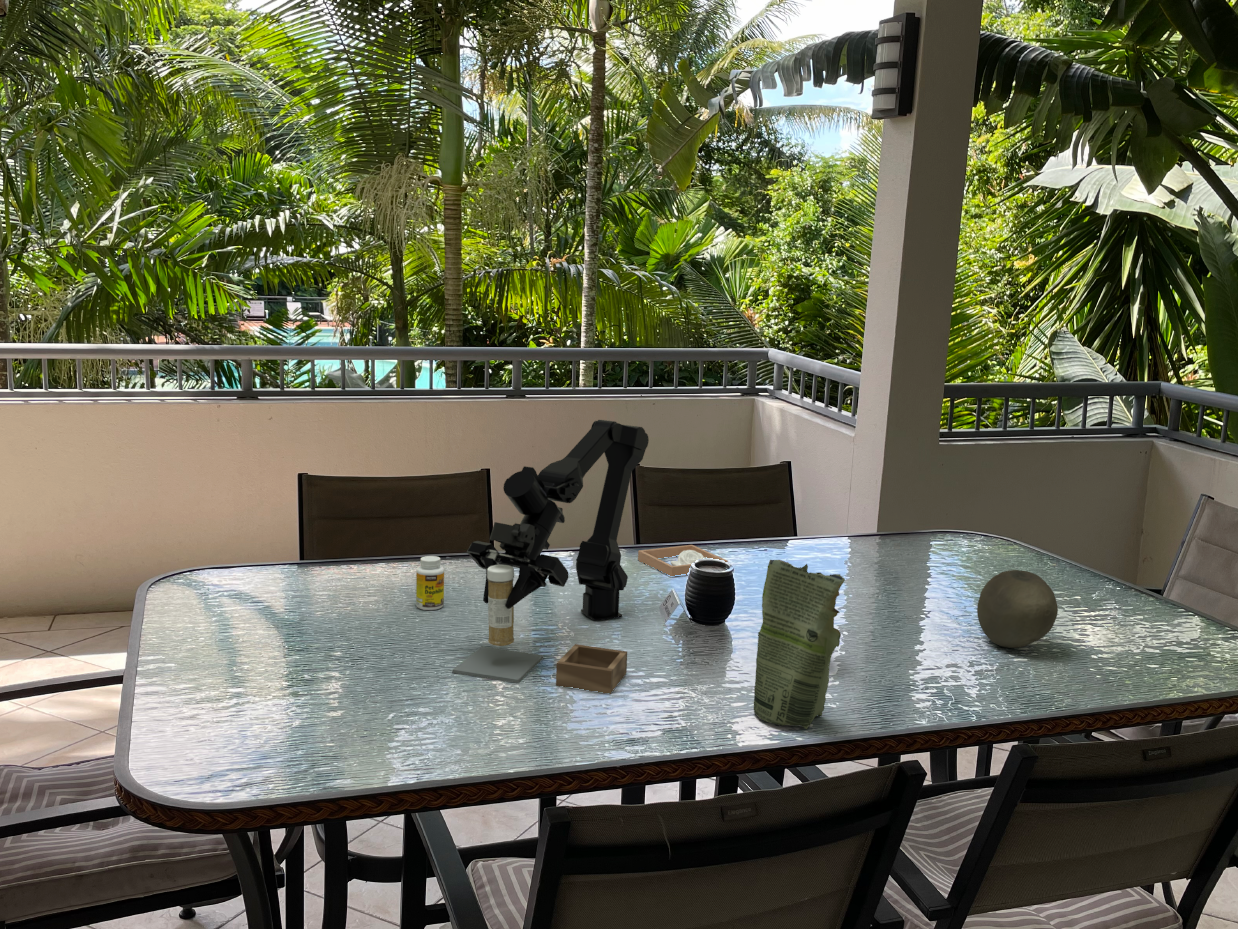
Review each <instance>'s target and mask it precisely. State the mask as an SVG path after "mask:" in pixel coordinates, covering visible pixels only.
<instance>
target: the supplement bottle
mask: <svg viewBox="0 0 1238 929" xmlns="http://www.w3.org/2000/svg"><path fill="white" fill-rule="evenodd" d="M441 564H442V563H441V557H439V556H437V555H426V556H423V557H420V563H419V566H418V567H417V568H416V575H415V576H416V578H415V579H416V580H415V582H416V586H415V588H416V589H415V591H416V592H415V594H416V595H415V596H416V597H415V598H416V601H415V605H416V607H417V608H418V609H420V610H422V611H423V610H424V611H435V610H440V609H441V608H443V607H444V602H445V595H444V594H445V568H444V567H443V566H441Z"/></svg>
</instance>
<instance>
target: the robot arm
mask: <svg viewBox="0 0 1238 929" xmlns="http://www.w3.org/2000/svg"><path fill="white" fill-rule="evenodd" d="M649 440H650V439H649V435H648V434H647V433H646V430H645V428H643V426H637V425H628V424H621V423H619V422H617V421H615V420H605V419H597V420H594V421H593V423H592V424H591V427H590V429H589V430H588V432H586V433H585V435H584V436H583V437H582V438H581V439H580V440H579V441H578V442H577V444H576V445H575V446H574V447H573V448H572V449H571V450H570V451H569V452H568V454H566V456H564V457H563V458H561V459H560V460H557V461H554V462H551V463H550V464H548V465H547V466H545V467H544V468H543V469H541V470H540V472H539V473H537V471H536V470H535V468H534V467H533V466H525V465H524V466H523V467H522V469H521V470H519V471H517V472H515V473H512V475H510V476H509V477H507V478H506V479H505V481H504V483H503V493H504V494H505V495H506V497H507V498H508V499H509V501H510V502H511V503H512V505H513V506H514V507H515V509H516V510H517V511H518V512H519V513H520V514H521V515H523V517H522V519H521V520H520V523H516V522H515V523H514V524H506V523H501V522H496V521H495V522H494V523H493V527H492V530H491V533H490V536H489V541H492V542H494V541H495V542H497V543H499V547H500V549H502V550H504V553H503V552H499V551H498V550H497V549H496V547H495V546H494V544H492V543H489V542H484V541H480V540H476V541H475V540H474V541H472V542H471V543H470V545H469V547H468V549H467V551H466V553H467V554H468V555H469V557H470V558H471V559H472V560H473V561H474V562H475V564H477V566H478V567H479V568H481V569H483V570H485V574H486V575H485V584H484V590H483V592H484V593H483V600H482V601H483V602H484V603H485V604H488V595H489V590H488V587H489V586H488V578H487V569H488V568H489V567H490V566H493V565H509V566H512V567H513V568H517V569H519V570H518V578H517V580H516V582H515V584H513V589H512V591H511V593H510V595H509V597H508V599H507V602H506V604H505V607H506V608H507V609H510V608H511V607H513V606H516V605H517V604H518V603H519V602H520V601H522V600H524V599H525V598H526V597H527V596H529V595H530V594H532V593H534V592H535V591H537V590H538V589H540V588H541V587H543V588H544V587H546V586H547V583H546V580H547V579H548V582H549V583H550V585H554V586H558V587H565V586H566V583H567V582H568V580H569V571H568V569H567V568H566V566H565V565H564V564H563V562H562V561H561V560H560V558H559V557H557V556H553V555H549V554H543V553H542V552H543V550H549V548H550V546H551V544H550V543H549V542H548V540H549V538H550V536H551V534H552V532H553V530H554V529H555V527H556V524H557V523H561V524H565V521H566V520H565V515H564V512H563V508H562V507H559V506H558V505H557V503H555V502H559V503H564V504H572V503H573V502H574V501H575V500H576V499H577V497H578V495H579V494H580V493H581V491H582V489H583V487H584V477H585V476H586V474H587V473H588V472H589V471H590V470H591V468H592V467H593V466H594V465H595V463H597V461H599V459H600V458H601V457H602V456H603V454H604V455H605V458H606V462H607V469H606V474H605V477H604V478H605V479H604V482H603V488H602V490H601V491H602V492H601V497H600V501H599V504H598V505H599V506H598V509H597V513H596V518H595V523H594V526H593V532H592V535H590V537H589V538H588V539H587V540H582V541H581V542H580V544H579V549H578V554H577V557H576V559H575V561H576V563H575V570H576V575H577V580H578V584H579V586H580V585H581V586H582V585H584V587H585V588H584V592H583V593H582V609H580V613H582V614H583V615H584V616H586V617H587V618H589V619H591V620H593V621H594V622H596V621H597V622H598V621H604V620H605V621H606V620H611V619H618V618H619V619H620V618H623V614H622V613H620V591H624V590H625V588H626V587H627V584H628V579H629V578H628V577H629V576H628V575H627V573H626V571H625V570H624V569H623V566H622V565H621V561H622V553H621V549H620V546H619V545H618V535H619V530H620V528H621V527H620V526H621V522H622V517H623V513H624V508H625V503H626V498H627V495H628V491H629V486H630V481H631V478H632V472H633V470H634V469H635V468H636V467H637V466H638V465H639V464H640V463H641V462H642V461H643V459H644V456H645V453H646V450H647V448H648V445H649Z"/></svg>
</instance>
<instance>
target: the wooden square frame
mask: <svg viewBox="0 0 1238 929" xmlns="http://www.w3.org/2000/svg"><path fill="white" fill-rule="evenodd" d="M686 550H693V551H696V552H698V553H701V554H702V555H703V557H705V558H706V557H707V558H713V559H719V560H724V561H725V562H729V561H728V560H727V559H725V558H722V557H720V556H718V555H716V554H714V553H711V552H709V551H707V550H704V549H702V548H700V547H698V546H696V545H693V544H688V545H687V544H686V545H677V546H670V547H669V546H668V547H660V548H659V547H658V548H650V549H641V550H638V551H637V553H638V555H637V561H638V560H639V561H638V562H640V563H642V562H643V563H642V564H644V563H645V564H644V565H646V564H647V565H646V566H648V565H649V566H651V567H654V568H655V569H658V570H659V571H662V572H663V573H666V574H668V575H670V576H675V575H681V574H686V575H687V573H688V572H689V568H690V566H691V564H687V565H678V566H672V565H671V563H670V564H669V563H667V562H665V561H664V560H663V559H658V558H664V557H672V556H676V555H679V554H680V553H681V552H682V551H686ZM649 566H648V567H649ZM651 567H650V568H651ZM655 569H654V570H655ZM659 571H658V572H659ZM663 573H662V574H663Z"/></svg>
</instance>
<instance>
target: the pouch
mask: <svg viewBox="0 0 1238 929" xmlns="http://www.w3.org/2000/svg"><path fill="white" fill-rule="evenodd" d="M808 568H809V566H808V563H806V564H804V565H803V566H802V567H801V566H800V567H797V566H794V565H793V564H792V563H790V562H788V561H787V562H786V561H784V560H783V559H782V560H781V559H769V561H768V564H767V570H766V576H765V581H764V585H763V589H762V590H763V591H762V596H761V604H762V605H761V609H762V610H761V611H762V614H761V615H762V623H761V627H760V630H759V631H758V632H757V651H756V652H757V653H756V658H755V660H756V661H755V664H756V668H755V679H754V680H755V681H754V686H753V688H754V693H753V694H754V695H753V696H754V697H753V712H754V714H755V715H756V716H757V717H759V719H760V720H762V721H764V722H767V723H770V724H774V725H778V726H795V727H802V728H803V729H804V730H805V729H806V730H808V728H809V727H810V726H811V724H812V722H813V721H814V719H815V718H816V717H820V716H821V717H822V716H823V712H824V711H825V703H826V701H827V700H826V699H827V698H826V697H827V696H826V694H827V691H828V688H829V682H830V665H831V664H830V663H831V658H832V655H833V653H834V651H835V650H836V648H838V647H839V646H840V642H841V641H840V639H841V637H842V634H841V632H840V630H839V629H838V628H836V627H835V626H834V625H835V623H834V622H835V618H836V617H837V616H838V614H840V611H839V610H838V609H836V608H835V607H836V603H837V599H838V598H837V597H839V596H840V589H841V587H842V585H843V584H844V582H845V581H846V578H844V577H843V576H842V575H841V573H839V574H838V573H833V574H831V573H830V574H829V575H827V574H826V575H825V574H823V573H822V572H821V571H819V572H808ZM817 715H818V716H817Z"/></svg>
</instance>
